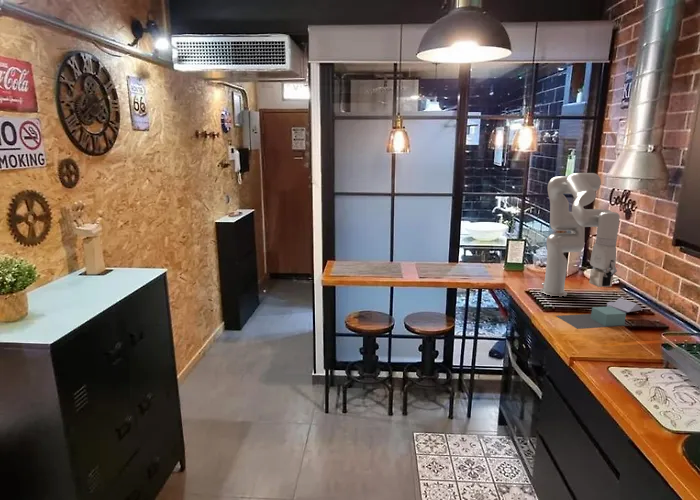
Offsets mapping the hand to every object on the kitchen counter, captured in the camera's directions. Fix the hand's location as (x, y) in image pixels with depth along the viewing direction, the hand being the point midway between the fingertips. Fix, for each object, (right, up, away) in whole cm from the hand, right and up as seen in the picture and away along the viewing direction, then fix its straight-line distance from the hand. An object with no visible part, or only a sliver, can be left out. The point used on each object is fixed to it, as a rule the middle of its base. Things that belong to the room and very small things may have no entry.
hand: (600, 283), depth 193 cm
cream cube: (0, -1, 0) cm, 1 cm away
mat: (-2, -17, +4) cm, 18 cm away
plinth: (+4, -17, +2) cm, 17 cm away
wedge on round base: (+18, -15, +16) cm, 28 cm away
